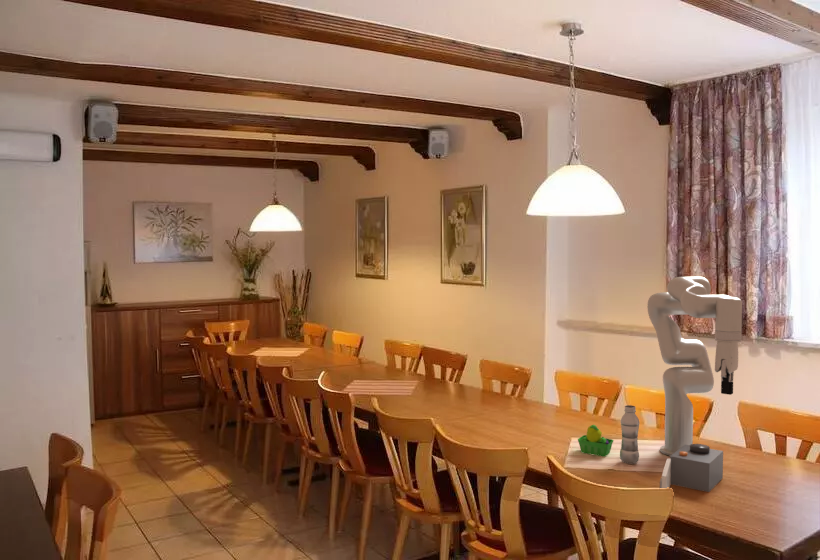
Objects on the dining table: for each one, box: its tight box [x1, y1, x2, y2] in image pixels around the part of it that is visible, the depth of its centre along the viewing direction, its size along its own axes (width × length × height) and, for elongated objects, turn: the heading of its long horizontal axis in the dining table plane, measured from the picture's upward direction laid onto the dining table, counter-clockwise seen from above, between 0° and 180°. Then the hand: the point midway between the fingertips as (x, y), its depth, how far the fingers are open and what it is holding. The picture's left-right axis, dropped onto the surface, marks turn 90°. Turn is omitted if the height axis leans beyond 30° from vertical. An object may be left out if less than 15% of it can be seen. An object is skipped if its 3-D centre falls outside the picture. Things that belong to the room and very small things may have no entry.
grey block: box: [669, 443, 724, 493], centre depth 225 cm, size 16×12×11 cm
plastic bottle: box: [619, 404, 640, 465], centre depth 243 cm, size 6×7×20 cm
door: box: [659, 458, 672, 489], centre depth 214 cm, size 2×18×8 cm, turn 155°
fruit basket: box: [577, 424, 615, 458], centre depth 255 cm, size 11×9×11 cm
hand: (727, 393), depth 221 cm, fingers closed
